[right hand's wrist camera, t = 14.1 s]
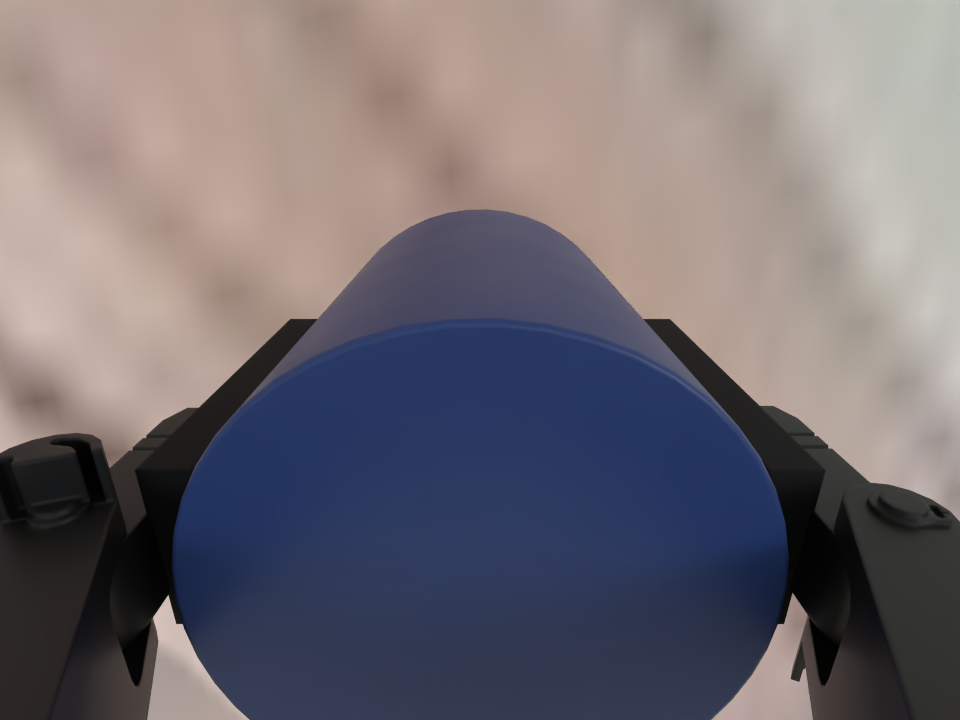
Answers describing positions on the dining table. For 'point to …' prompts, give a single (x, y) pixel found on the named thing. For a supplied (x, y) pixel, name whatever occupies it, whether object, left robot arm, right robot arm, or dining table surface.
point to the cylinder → (480, 504)
